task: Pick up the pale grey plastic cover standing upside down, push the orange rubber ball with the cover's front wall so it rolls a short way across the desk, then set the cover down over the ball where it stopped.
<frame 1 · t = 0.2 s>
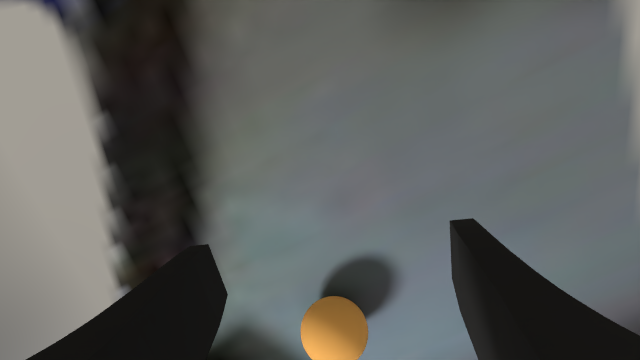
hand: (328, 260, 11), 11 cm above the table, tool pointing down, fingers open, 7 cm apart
ball: (334, 331, 22), on the table
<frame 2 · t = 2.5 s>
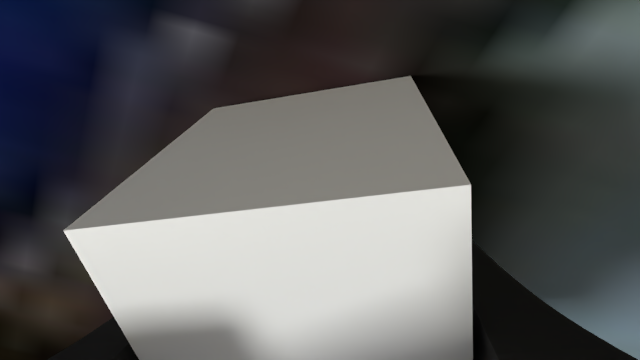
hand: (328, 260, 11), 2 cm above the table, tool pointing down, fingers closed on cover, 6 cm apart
cover: (333, 219, 13), on the table, touching gripper
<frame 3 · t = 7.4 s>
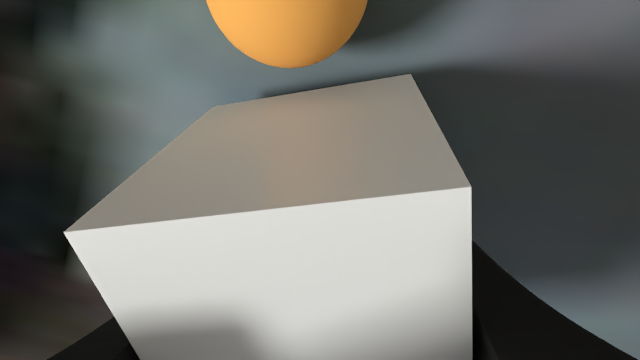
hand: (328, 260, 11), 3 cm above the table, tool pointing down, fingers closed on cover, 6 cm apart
cover: (333, 217, 13), point 1 cm above the table, touching gripper
when the fingers open (3 cm above the table, at t = 14.4 s): cover stays where it is, on the table.
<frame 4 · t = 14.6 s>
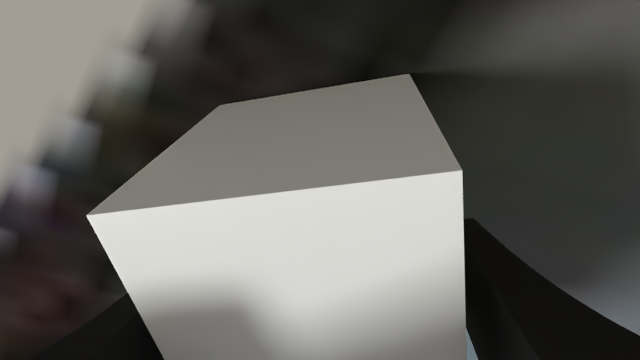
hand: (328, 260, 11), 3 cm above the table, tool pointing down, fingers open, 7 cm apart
cover: (334, 213, 13), on the table
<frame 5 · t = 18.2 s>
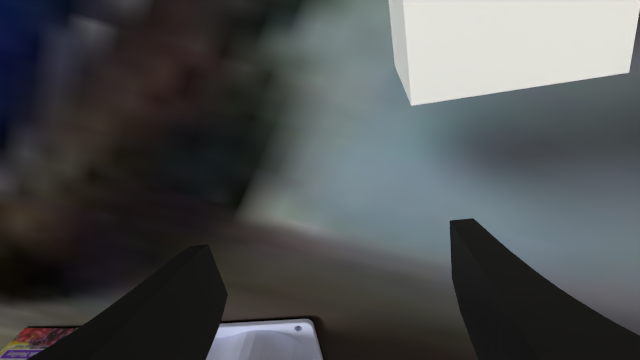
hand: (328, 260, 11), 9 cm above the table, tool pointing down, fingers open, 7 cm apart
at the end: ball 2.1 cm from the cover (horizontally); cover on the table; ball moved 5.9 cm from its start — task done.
